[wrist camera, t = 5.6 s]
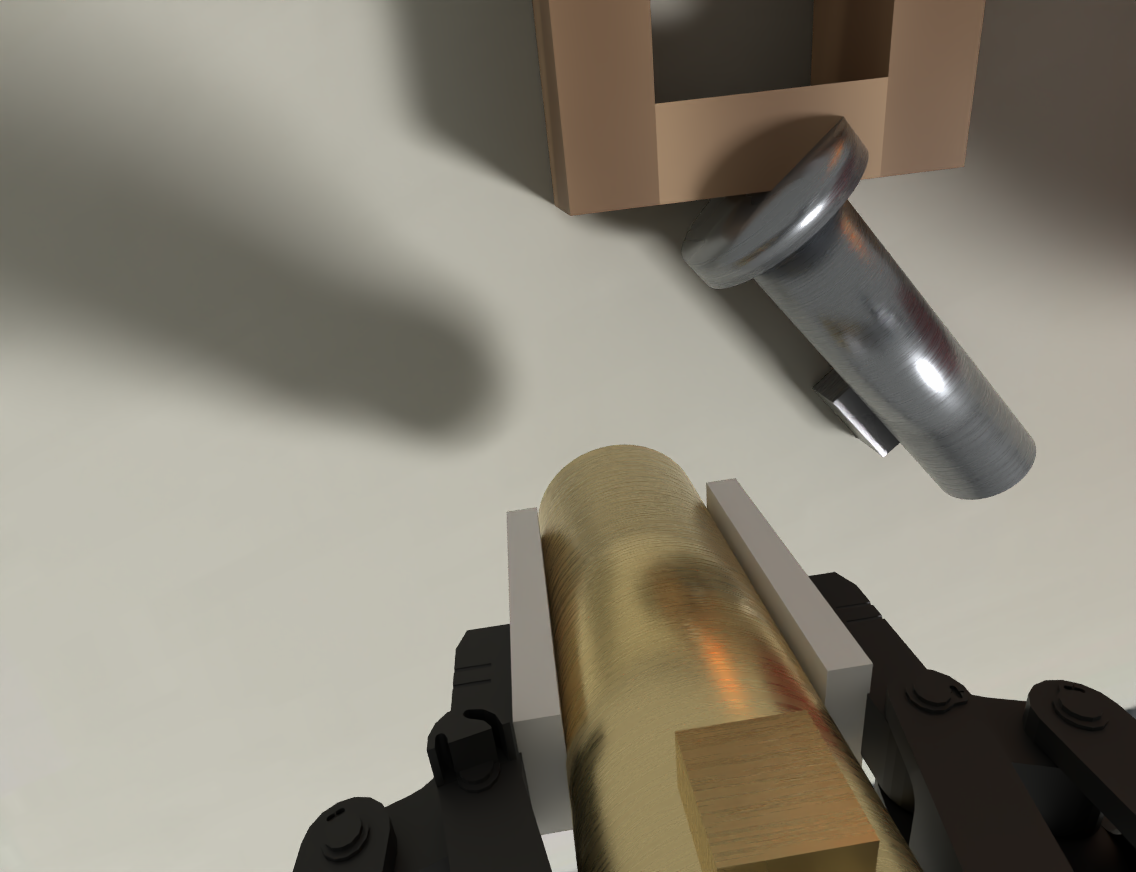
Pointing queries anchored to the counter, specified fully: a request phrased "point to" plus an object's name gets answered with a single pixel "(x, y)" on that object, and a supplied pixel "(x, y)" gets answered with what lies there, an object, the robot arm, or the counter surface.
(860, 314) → the shaft
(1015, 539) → the counter surface
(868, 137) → the coupling block
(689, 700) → the joint pin
